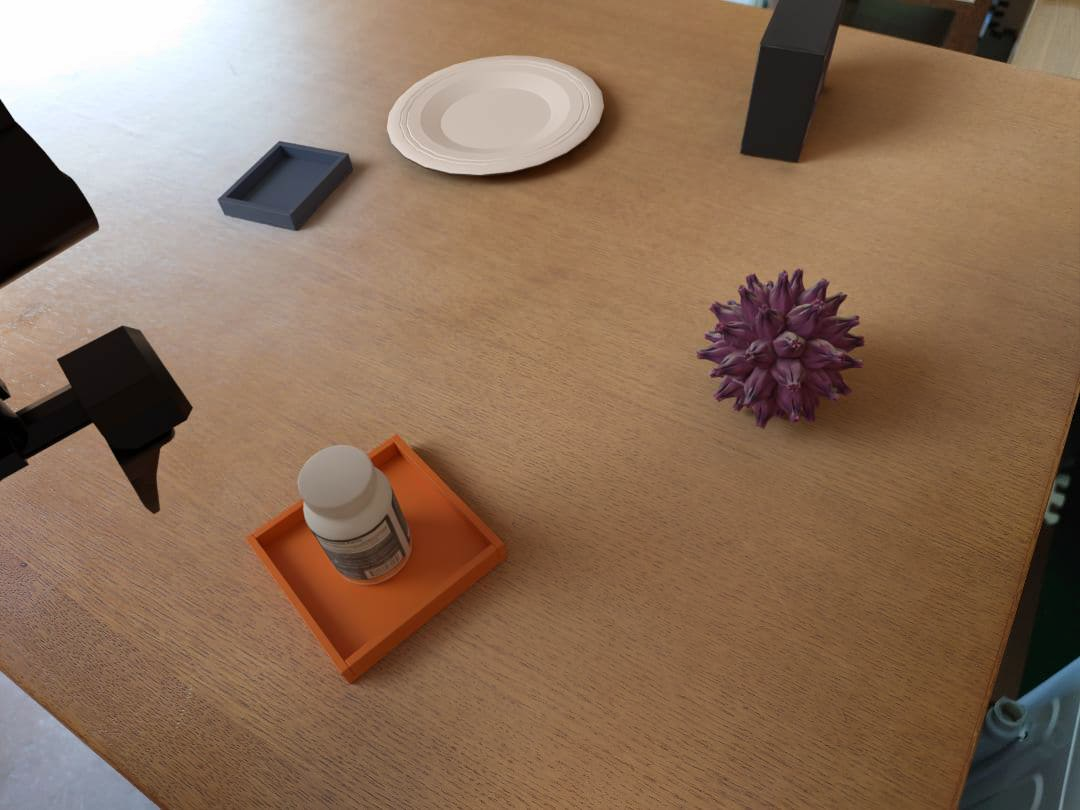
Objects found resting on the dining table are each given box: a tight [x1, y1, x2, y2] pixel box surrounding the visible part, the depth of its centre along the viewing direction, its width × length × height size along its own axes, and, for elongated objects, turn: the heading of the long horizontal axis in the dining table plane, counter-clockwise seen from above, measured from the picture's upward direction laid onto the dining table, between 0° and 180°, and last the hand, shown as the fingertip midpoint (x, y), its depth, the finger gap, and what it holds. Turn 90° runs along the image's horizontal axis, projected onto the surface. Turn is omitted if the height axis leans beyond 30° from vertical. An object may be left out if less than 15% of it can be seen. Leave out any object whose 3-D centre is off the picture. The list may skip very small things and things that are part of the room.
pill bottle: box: [297, 444, 412, 585], centre depth 51 cm, size 6×6×10 cm
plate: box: [386, 54, 605, 177], centre depth 89 cm, size 25×25×2 cm
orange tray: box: [244, 433, 508, 685], centre depth 55 cm, size 13×13×2 cm
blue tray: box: [217, 140, 354, 232], centre depth 84 cm, size 11×9×2 cm
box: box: [739, 0, 846, 163], centre depth 81 cm, size 17×7×12 cm, turn 158°
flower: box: [696, 268, 866, 430], centre depth 57 cm, size 12×12×12 cm
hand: (74, 556), depth 42 cm, fingers open, 9 cm apart
